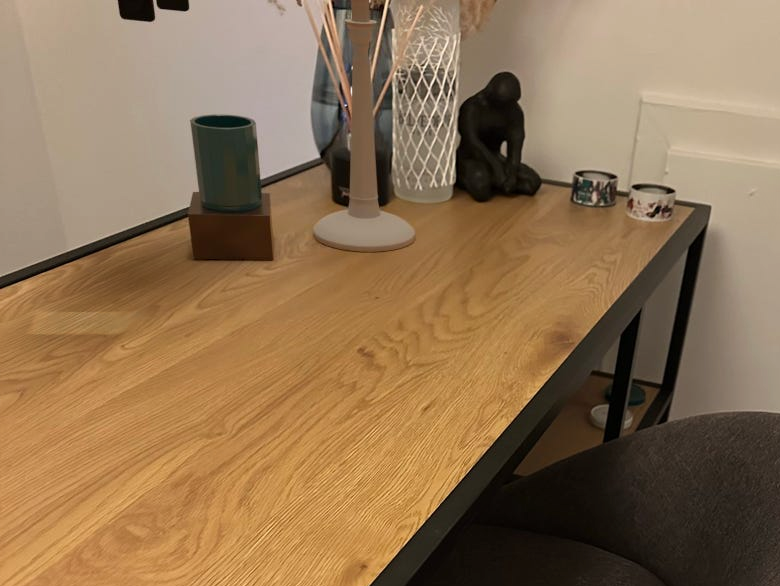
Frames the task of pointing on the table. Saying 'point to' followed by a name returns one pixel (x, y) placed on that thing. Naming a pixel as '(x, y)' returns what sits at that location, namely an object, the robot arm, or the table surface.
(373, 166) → the candlestick
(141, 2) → the robot arm
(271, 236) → the block
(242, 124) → the cup
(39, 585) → the table surface
